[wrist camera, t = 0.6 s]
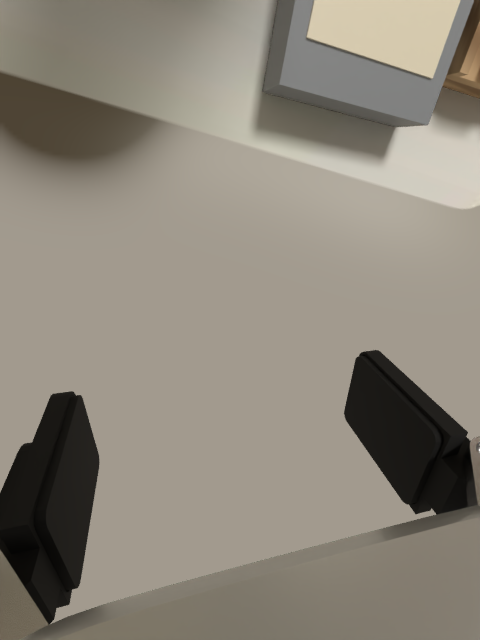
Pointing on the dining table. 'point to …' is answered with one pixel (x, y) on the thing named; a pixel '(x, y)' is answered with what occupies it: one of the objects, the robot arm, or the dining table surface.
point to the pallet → (467, 57)
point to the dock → (365, 55)
